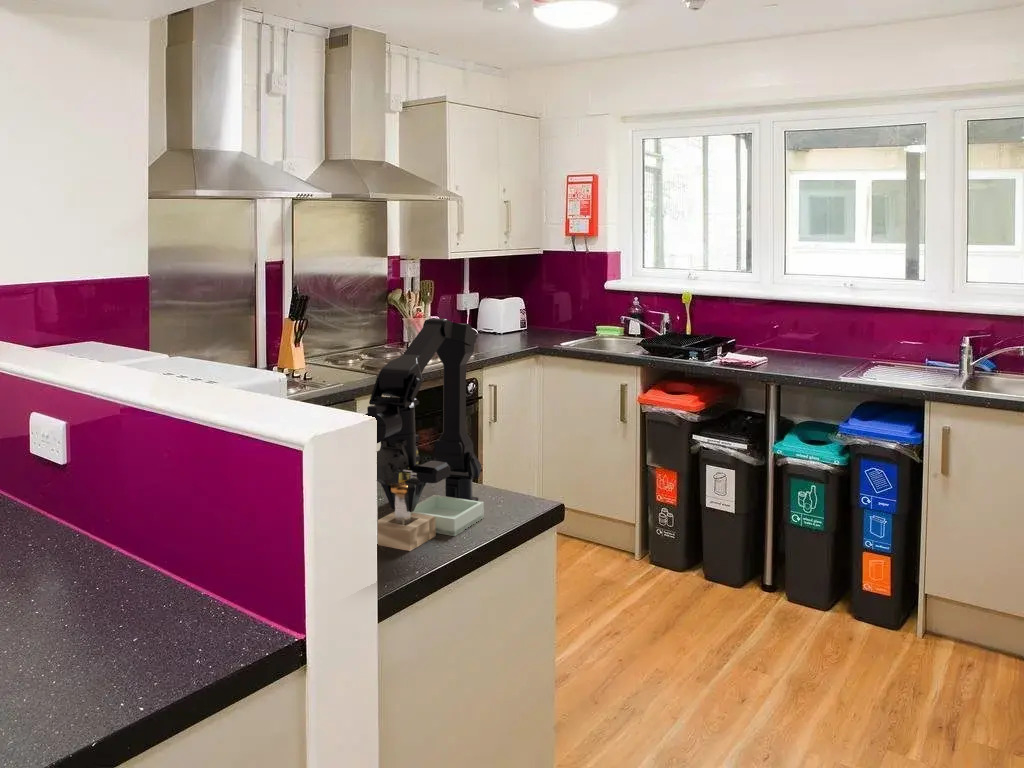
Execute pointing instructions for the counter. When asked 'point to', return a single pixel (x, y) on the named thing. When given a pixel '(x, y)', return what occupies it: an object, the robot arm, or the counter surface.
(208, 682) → the counter surface
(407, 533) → the block
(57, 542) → the counter surface
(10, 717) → the counter surface
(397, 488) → the orange-capped jar
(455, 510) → the sage tray
